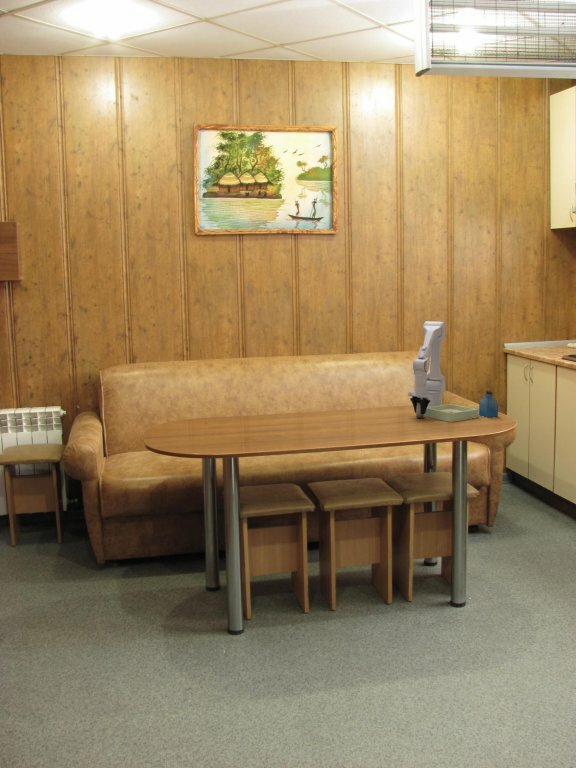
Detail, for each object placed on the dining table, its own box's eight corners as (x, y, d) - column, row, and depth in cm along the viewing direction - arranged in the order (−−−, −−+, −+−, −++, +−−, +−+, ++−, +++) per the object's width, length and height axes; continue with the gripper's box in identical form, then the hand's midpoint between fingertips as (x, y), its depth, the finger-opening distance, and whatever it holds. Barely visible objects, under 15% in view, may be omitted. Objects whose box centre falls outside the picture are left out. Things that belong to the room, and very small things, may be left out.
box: (423, 416, 381) (423, 407, 381) (449, 412, 392) (450, 403, 391) (451, 422, 367) (451, 413, 366) (478, 417, 377) (478, 409, 376)
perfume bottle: (478, 415, 382) (479, 390, 381) (489, 414, 385) (490, 389, 383) (487, 417, 377) (488, 392, 375) (497, 416, 379) (498, 391, 378)
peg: (414, 417, 377) (414, 402, 376) (420, 416, 379) (420, 401, 378) (419, 418, 374) (420, 403, 373) (425, 417, 376) (425, 402, 375)
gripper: (403, 383, 377) (403, 411, 380) (425, 387, 366) (424, 416, 368) (414, 382, 381) (414, 410, 384) (436, 385, 370) (435, 414, 372)
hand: (420, 413), depth 376 cm, fingers closed on peg, 4 cm apart
